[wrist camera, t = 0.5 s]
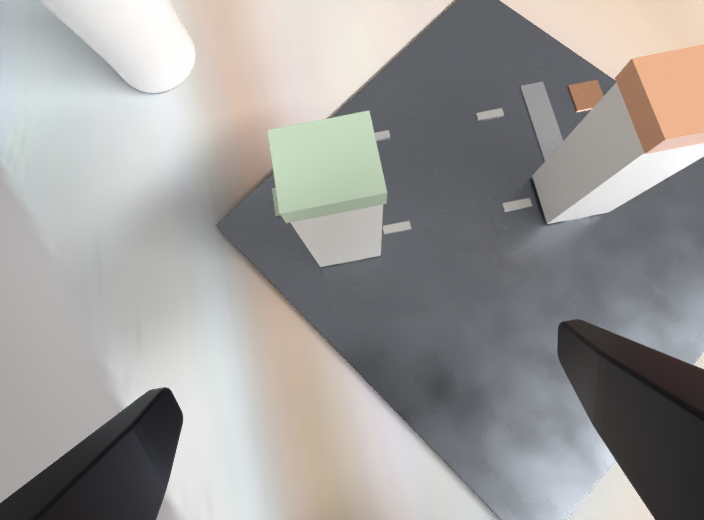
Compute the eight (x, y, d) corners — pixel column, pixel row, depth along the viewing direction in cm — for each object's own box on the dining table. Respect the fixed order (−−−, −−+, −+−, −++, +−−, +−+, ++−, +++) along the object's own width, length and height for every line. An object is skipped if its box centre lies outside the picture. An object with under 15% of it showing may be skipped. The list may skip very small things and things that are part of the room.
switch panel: (803, 220, 22) (815, 217, 21) (532, 551, 19) (537, 557, 18) (470, -12, 27) (472, -20, 26) (215, 224, 24) (211, 221, 23)
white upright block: (382, 257, 22) (387, 193, 13) (319, 269, 22) (279, 213, 13) (372, 204, 23) (369, 110, 14) (310, 216, 23) (267, 130, 14)
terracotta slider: (611, 213, 22) (777, 118, 13) (545, 225, 22) (665, 139, 13) (592, 162, 23) (737, 37, 14) (529, 174, 23) (631, 58, 14)
